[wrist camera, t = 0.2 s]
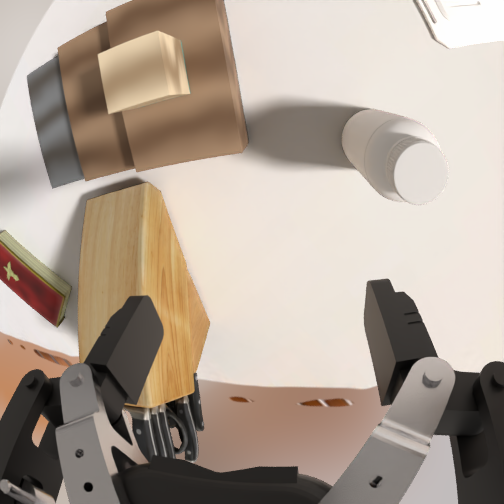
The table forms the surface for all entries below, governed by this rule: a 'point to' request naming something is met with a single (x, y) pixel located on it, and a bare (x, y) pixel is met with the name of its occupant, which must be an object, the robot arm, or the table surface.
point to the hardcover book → (33, 280)
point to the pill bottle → (396, 156)
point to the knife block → (164, 299)
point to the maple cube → (143, 72)
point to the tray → (465, 21)
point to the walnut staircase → (147, 117)
